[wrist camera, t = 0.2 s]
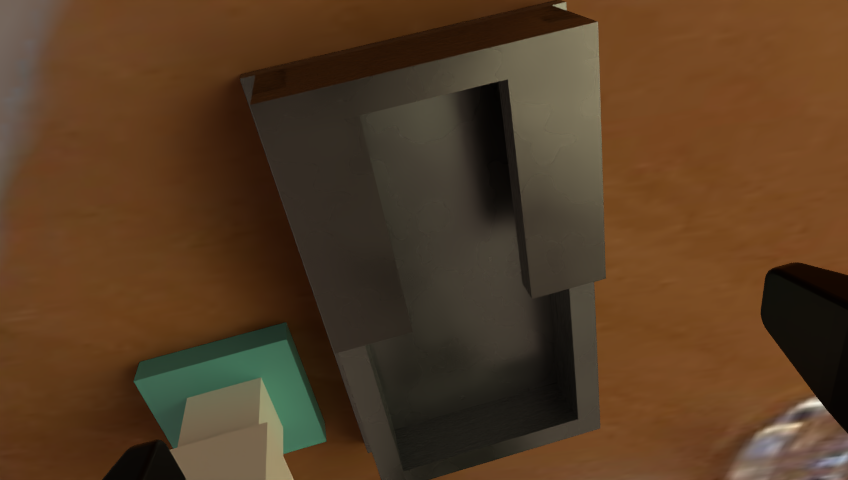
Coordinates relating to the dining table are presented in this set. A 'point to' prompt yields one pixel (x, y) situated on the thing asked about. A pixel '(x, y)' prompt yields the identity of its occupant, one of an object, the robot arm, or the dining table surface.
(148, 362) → the slider
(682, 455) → the dining table surface
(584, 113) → the keyhole guide
